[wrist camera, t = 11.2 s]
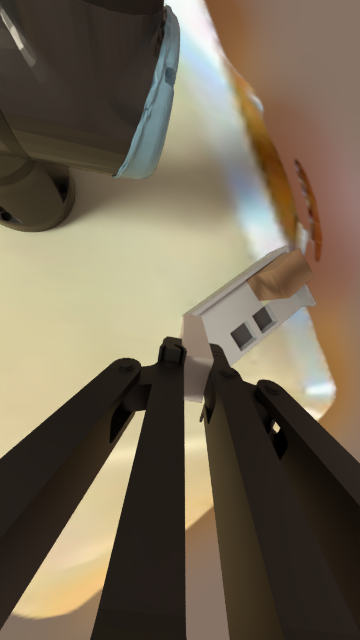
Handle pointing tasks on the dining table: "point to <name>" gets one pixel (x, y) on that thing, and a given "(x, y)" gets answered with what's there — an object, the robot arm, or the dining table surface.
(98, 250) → the dining table surface
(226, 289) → the deck
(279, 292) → the block
